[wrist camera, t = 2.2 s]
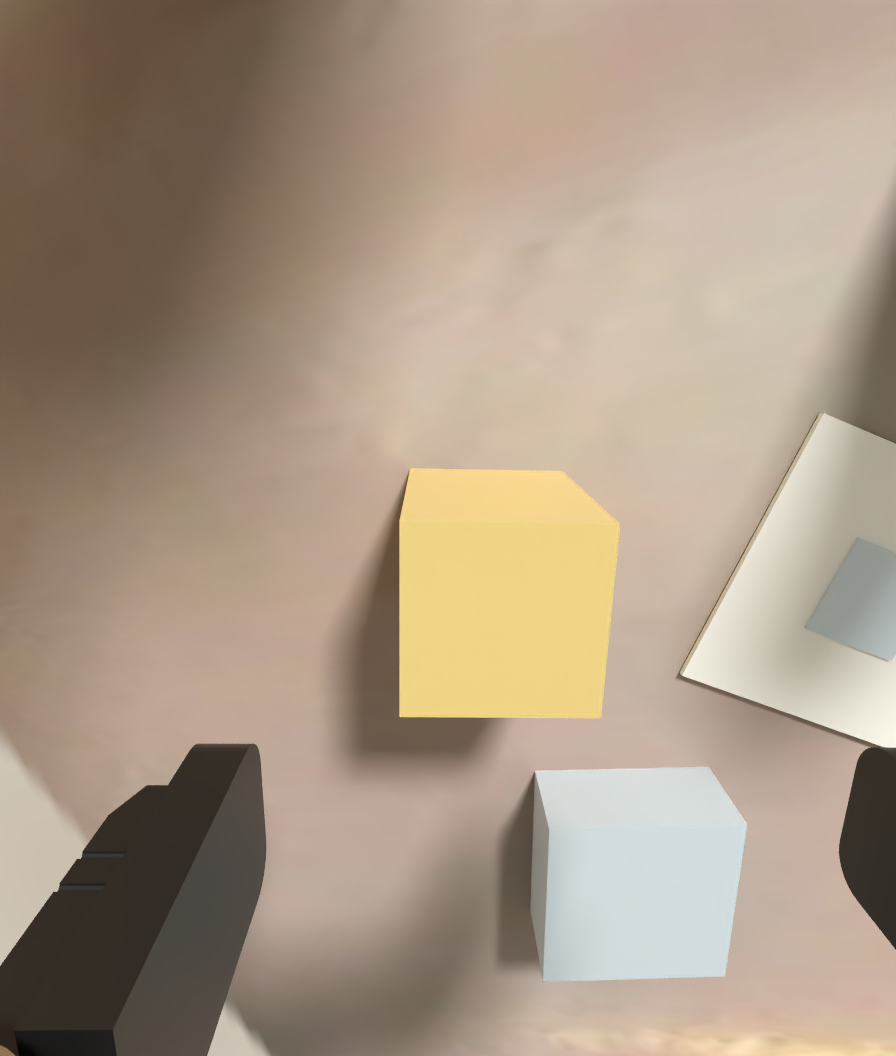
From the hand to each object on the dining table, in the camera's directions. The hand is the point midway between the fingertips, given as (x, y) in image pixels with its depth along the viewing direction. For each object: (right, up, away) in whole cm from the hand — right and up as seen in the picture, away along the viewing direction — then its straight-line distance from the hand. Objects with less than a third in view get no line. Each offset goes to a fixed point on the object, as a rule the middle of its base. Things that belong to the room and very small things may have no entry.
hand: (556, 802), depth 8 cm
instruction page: (+13, +1, +12) cm, 18 cm away
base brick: (+5, -7, +14) cm, 17 cm away
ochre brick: (0, +3, +11) cm, 11 cm away
